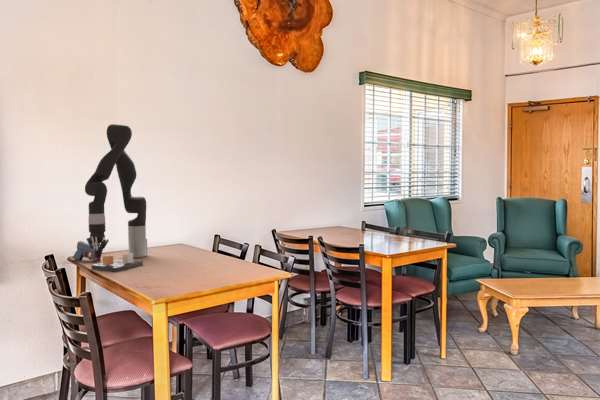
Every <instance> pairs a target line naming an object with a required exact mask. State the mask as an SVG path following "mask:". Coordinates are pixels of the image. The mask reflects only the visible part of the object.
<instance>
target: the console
mask: <svg viewBox="0 0 600 400" xmlns="http://www.w3.org/2000/svg"><path fill="white" fill-rule="evenodd" d="M141 266H144V261H143V260H135V259H133V262H132V263H123V258H116V259H113V264H112V265H108V266H107V265H103V261H101V262H99V263H95V264H93V263H92V264H91V265H90V268H91V270H98V271H104V272H113V273H117V272H118V273H119V272H122V271H127V270H130V269H133V268H137V267H141Z"/></svg>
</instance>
